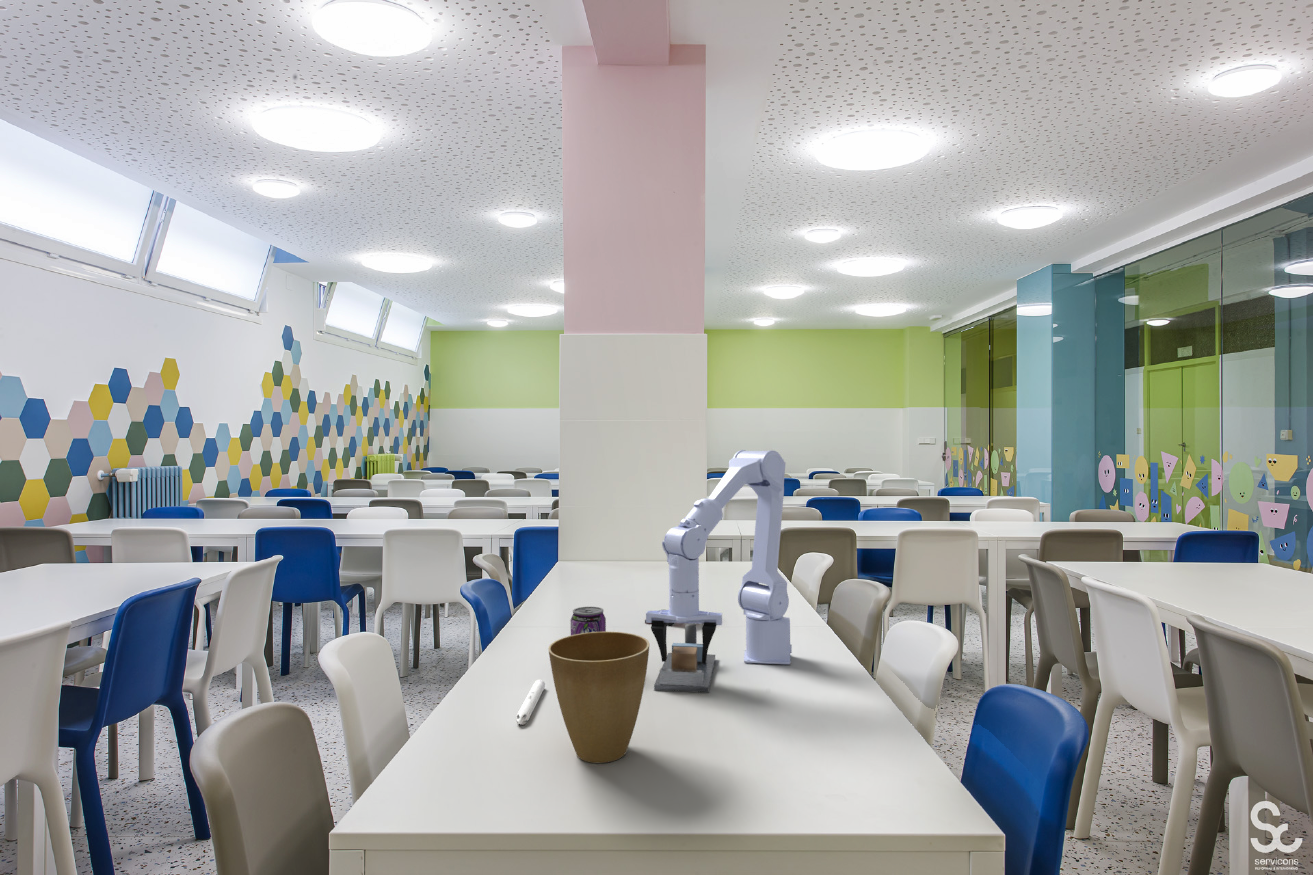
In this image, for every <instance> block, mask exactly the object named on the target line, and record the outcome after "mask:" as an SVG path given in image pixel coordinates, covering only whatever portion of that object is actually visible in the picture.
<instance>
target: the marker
mask: <svg viewBox="0 0 1313 875" xmlns="http://www.w3.org/2000/svg"><path fill="white" fill-rule="evenodd" d="M545 687H546V683H545V681H544V680H542V679H536V680H535V682H534V683H533V684H532V686H531V688H530V690H529V692H528V694H527V696H526V698H525V699H524V701H523V703H522V704H521V707H520V709H519V710H518V712H517V714H516V717H515V721H516V724H518V725H519V724H520V725H525V724H526V723H528V721H529V719H530V718H531V715H532V714H533V711H534V710H535V708H536V705H537V704H538V702H539V700H540V698H541V695H542V693H543V691H544V690H545Z"/></svg>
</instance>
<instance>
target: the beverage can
mask: <svg viewBox="0 0 1313 875" xmlns="http://www.w3.org/2000/svg"><path fill="white" fill-rule="evenodd" d="M606 619H607V618H606V616H605V614H604V608H602V607H598V606H581V607H576V608H574V609H572V616H571V618H570V636H571V635H576V634H582V633H589V632H607V629H606V627H607V622H606V621H607V620H606Z"/></svg>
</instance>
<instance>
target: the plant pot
mask: <svg viewBox="0 0 1313 875" xmlns="http://www.w3.org/2000/svg"><path fill="white" fill-rule="evenodd" d="M547 649H548V655H549V661H550V667H551V668H550V669H551V673H552V679H553V684H554V688H555V693H556V696H557V701H558V704H559V705H558V706H559V709H560V712H561V716H562V718H563V722H564V725H565V727H566V731H567V734H568V736H569V740H570V741H571V744H572V747H573V748H574V752H575V754H576V756H577V757H578V758H579V759H580V760H582V761H584V762H587V763H593V764H602V763H604V764H605V763H611V762H614V761H618V760H619V759H622V757H624V756H625V755H626V753H627V751H628V747H629V745H630V742H631V739H632V736H633V733H634V731H635V727H636V724H637V720H638V717H639V716H638V715H639V711H640V708H641V704H642V698H643V693H644V687H645V683H646V677H647V670H648V662H649V655H650V654H649V652H650V641H649V640H648V639H646V638H645V637H643V636H641V635H639V634H635V633H629V632H621V631H606V632H589V633H582V634H576V635H571V634H570V635H568V636H564V637H561V638H559V639H556V640H555V641H553V642H552V643H551V644H549V646H548V648H547Z"/></svg>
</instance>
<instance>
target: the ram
mask: <svg viewBox="0 0 1313 875" xmlns="http://www.w3.org/2000/svg"><path fill="white" fill-rule="evenodd" d="M697 642H698V641H697V624H692V623H684V642H683V643H681V642H672V644H671V652H672V651H673V648H674V647H697V661H700V662H702V650H703V643H697Z"/></svg>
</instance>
